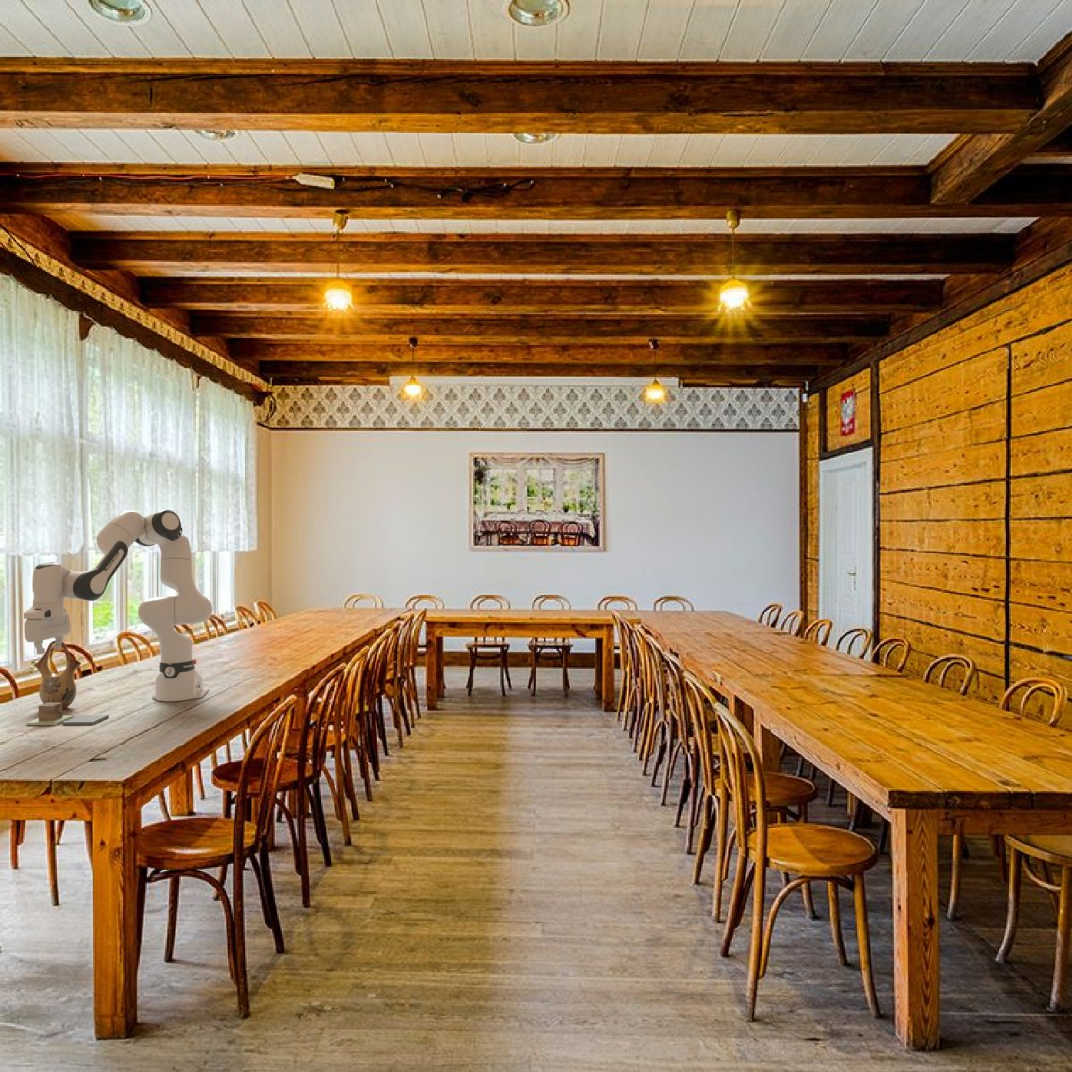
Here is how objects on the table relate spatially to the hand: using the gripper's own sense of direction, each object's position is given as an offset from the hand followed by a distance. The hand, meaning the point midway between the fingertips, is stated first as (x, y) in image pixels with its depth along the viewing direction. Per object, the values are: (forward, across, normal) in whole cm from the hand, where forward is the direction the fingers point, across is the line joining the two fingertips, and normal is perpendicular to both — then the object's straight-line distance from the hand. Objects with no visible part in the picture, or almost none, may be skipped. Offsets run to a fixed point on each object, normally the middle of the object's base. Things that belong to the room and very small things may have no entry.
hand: (49, 651), depth 271 cm
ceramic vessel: (+24, -20, -9) cm, 33 cm away
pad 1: (+24, 0, 0) cm, 24 cm away
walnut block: (+23, 0, 0) cm, 23 cm away
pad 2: (+24, 0, +12) cm, 27 cm away
